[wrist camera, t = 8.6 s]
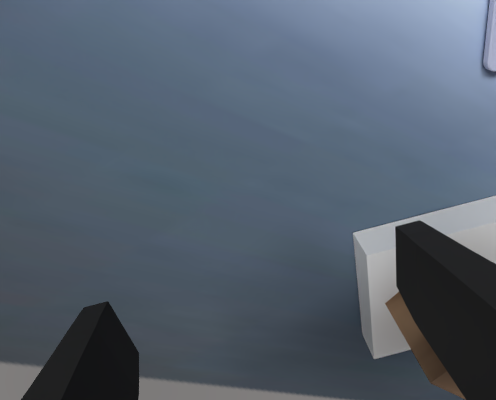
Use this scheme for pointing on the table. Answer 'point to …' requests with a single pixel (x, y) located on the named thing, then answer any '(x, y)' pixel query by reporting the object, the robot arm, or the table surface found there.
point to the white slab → (384, 265)
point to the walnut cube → (421, 346)
